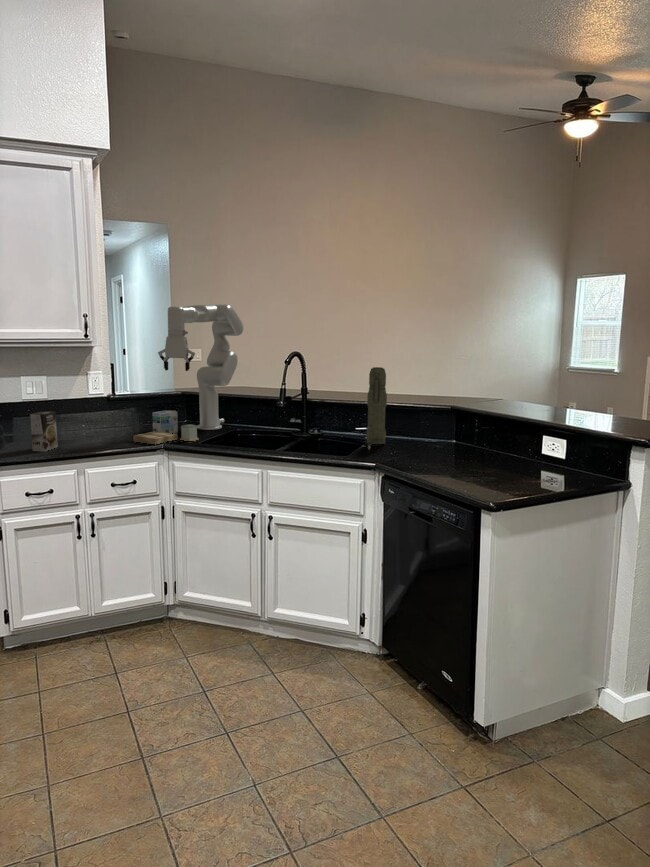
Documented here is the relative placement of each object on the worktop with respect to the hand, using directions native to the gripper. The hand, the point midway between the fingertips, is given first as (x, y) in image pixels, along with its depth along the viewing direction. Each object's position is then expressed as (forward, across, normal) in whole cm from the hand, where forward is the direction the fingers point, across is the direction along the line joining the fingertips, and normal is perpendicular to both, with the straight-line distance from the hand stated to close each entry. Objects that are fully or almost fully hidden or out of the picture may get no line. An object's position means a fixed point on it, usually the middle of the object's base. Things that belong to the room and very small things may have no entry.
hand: (176, 370), depth 301 cm
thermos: (+31, -94, +5) cm, 99 cm away
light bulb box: (+32, +9, -10) cm, 35 cm away
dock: (+32, +8, +10) cm, 35 cm away
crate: (+32, -7, +7) cm, 34 cm away
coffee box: (+34, +49, +32) cm, 67 cm away
